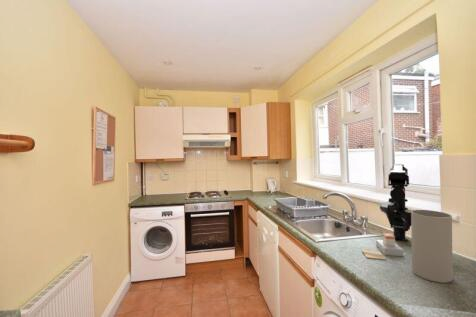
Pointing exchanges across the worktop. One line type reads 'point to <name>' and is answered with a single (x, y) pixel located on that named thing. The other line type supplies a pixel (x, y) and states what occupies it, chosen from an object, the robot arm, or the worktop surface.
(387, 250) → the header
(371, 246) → the worktop surface
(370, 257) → the mat
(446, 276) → the cylinder vase
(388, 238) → the plug
